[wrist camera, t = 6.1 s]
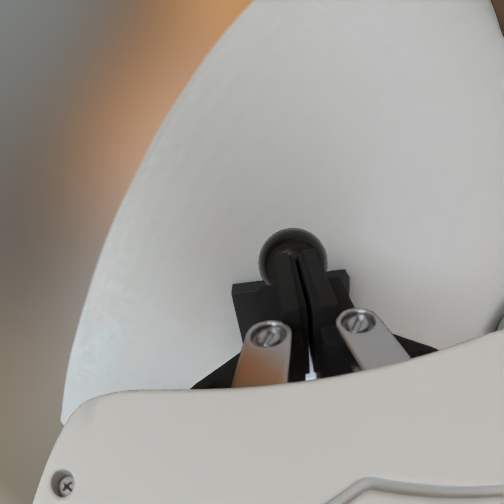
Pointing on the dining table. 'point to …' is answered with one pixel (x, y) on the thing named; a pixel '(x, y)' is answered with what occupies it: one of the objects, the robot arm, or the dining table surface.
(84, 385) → the dining table surface
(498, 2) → the button block
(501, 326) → the saucer
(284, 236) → the lever
